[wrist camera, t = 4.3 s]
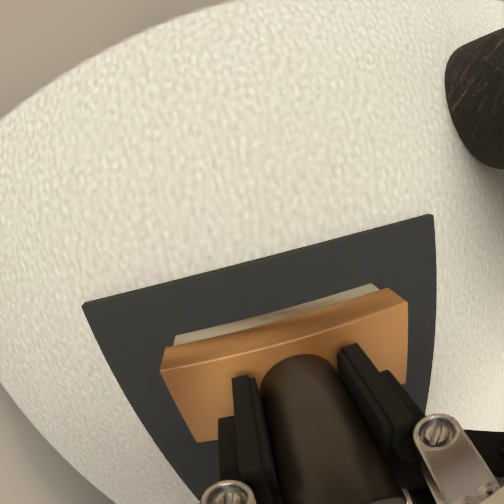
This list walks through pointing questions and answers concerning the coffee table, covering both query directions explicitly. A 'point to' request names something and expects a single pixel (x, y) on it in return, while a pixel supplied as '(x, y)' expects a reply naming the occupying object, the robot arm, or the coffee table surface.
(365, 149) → the coffee table surface
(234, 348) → the scrub brush
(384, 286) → the scrub mat
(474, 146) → the travel mug
